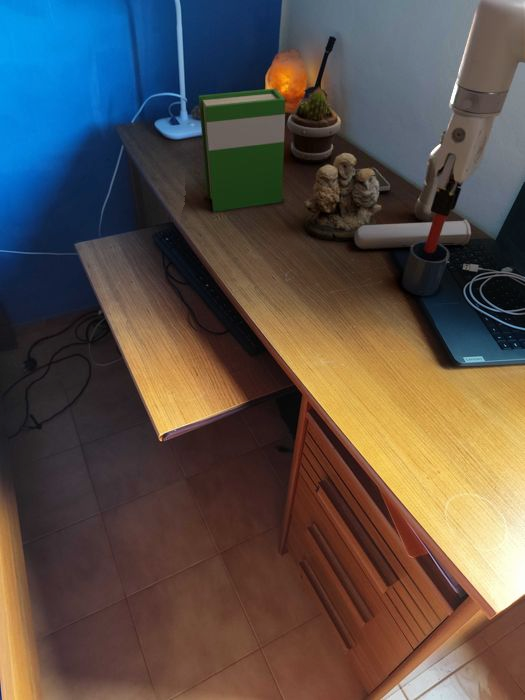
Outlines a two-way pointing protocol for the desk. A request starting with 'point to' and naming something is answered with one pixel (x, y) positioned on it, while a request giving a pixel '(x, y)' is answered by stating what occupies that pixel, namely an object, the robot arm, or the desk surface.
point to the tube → (409, 234)
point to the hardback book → (243, 147)
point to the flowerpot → (313, 128)
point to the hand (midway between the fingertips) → (442, 209)
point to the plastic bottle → (429, 187)
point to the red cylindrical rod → (435, 232)
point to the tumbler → (424, 269)
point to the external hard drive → (383, 183)
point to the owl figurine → (342, 200)
